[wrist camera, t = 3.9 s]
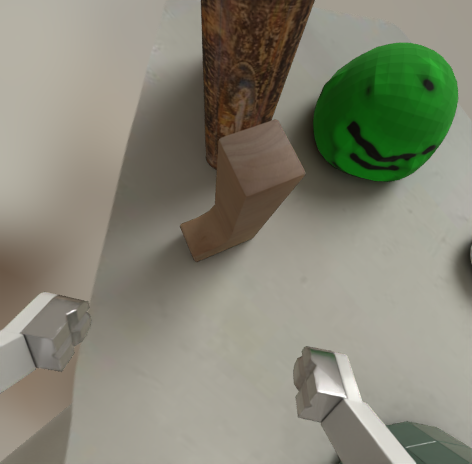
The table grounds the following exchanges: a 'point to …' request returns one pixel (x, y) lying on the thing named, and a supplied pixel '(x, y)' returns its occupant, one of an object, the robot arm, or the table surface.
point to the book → (246, 62)
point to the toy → (386, 111)
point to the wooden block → (245, 188)
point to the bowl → (430, 444)
